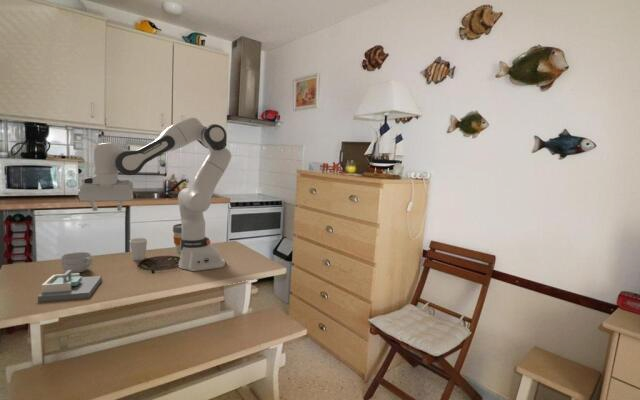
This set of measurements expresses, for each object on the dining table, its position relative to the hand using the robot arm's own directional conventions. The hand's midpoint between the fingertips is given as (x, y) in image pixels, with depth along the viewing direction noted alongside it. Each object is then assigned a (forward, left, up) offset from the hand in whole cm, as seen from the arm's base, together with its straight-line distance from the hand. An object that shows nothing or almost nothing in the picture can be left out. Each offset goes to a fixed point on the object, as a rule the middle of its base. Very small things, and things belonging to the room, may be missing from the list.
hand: (107, 210), depth 150 cm
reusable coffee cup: (-31, -29, -29) cm, 52 cm away
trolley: (+10, +18, -27) cm, 34 cm away
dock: (+9, +18, -29) cm, 35 cm away
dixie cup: (-9, -20, -29) cm, 37 cm away
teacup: (+13, -4, -29) cm, 32 cm away
